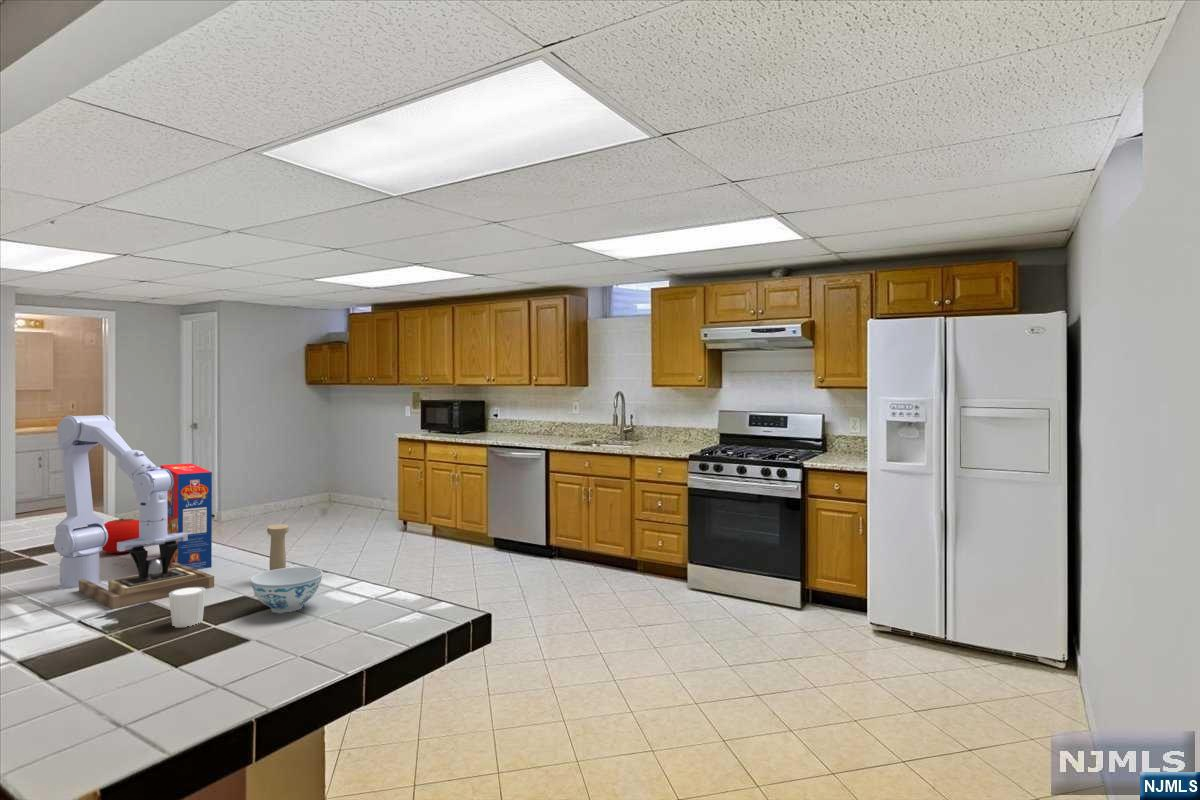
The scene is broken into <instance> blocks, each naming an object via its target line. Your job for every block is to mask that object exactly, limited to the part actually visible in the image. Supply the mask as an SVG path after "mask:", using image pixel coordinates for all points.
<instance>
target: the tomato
mask: <svg viewBox="0 0 1200 800" xmlns="http://www.w3.org/2000/svg"><path fill="white" fill-rule="evenodd" d="M104 526H105V528H106V530H107V532H108V540H107V543H106V544H105V546H103V547H102V552H104V553H108V554H113V553H117V554H124V553H129V551H128V550H125V551H121V552H120V551H117V542H122V541H127V540H132V539H136V538H139V519H135V518H119V519H115V520H109V521H106V522H104Z"/></svg>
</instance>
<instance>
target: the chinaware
mask: <svg viewBox="0 0 1200 800" xmlns="http://www.w3.org/2000/svg"><path fill="white" fill-rule="evenodd" d="M322 577H323V571H322V570H321V569H318V568H314V567H309V566H308V567H307V566H297V567H296V566H295V567H294V566H293V567H292V566H291V567H286V568H282V569H275V570H270V569H269V570H268V571H267V570H266V571H263V572H260V573H258V574H254V575H253V576H252V577H251V579H250V583H251V588H252V590H253V593H254V594H255V597H256V598H257V599H258V600H259V601H260V602H261V603H262V604H263V605H265V606H267V607H269V608H270V610H271V612H272V611H273V612H272V613H274V612H278V613H277V614H284V613H283V612H290V613H292V612H291V611H294V612H296V611H295V610H298V611H300V610H302V609H303V608H302V607H304V604H305V603H306V602H308V601H309V600H310V599H311V598H312V597H313V596H314V595H315V594H316V592H317V590H318V588H319V587H320V584H321V581H322ZM301 608H302V609H301ZM299 609H300V610H299Z"/></svg>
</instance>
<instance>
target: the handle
mask: <svg viewBox="0 0 1200 800" xmlns="http://www.w3.org/2000/svg"><path fill="white" fill-rule="evenodd" d="M266 532H267V535H269V536H270V549H269V571H270V570H275V569H282V568H287V557H286V556H287V555H286V553H287V552H286V537H285V536H286V534H287V533H289V525H288V524H279V523H278V524H270V525H268V526H267V527H266Z"/></svg>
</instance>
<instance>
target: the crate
mask: <svg viewBox="0 0 1200 800" xmlns="http://www.w3.org/2000/svg"><path fill="white" fill-rule="evenodd" d="M192 579H197V574H194V573H192V572H189V571H186V570H183V569H181V568H178V567H176V568H168V572H167V574H163V578H162V579H157V580H152V581H147V582H144V578H141V577H139V574H135V575H129V576H123V577H120V578H114V579H109V580H108V581H107V582H108V583H107V585H108V586H107V587H108V589H107V590H108V591H110V592H112V593H115V594H117V595H119V594H124V593H129V592H134V591H139V590H144V589H148V588H153V587H158V586H163V585H168V584H173V583H177V582H182V581H187V580H192Z"/></svg>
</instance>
